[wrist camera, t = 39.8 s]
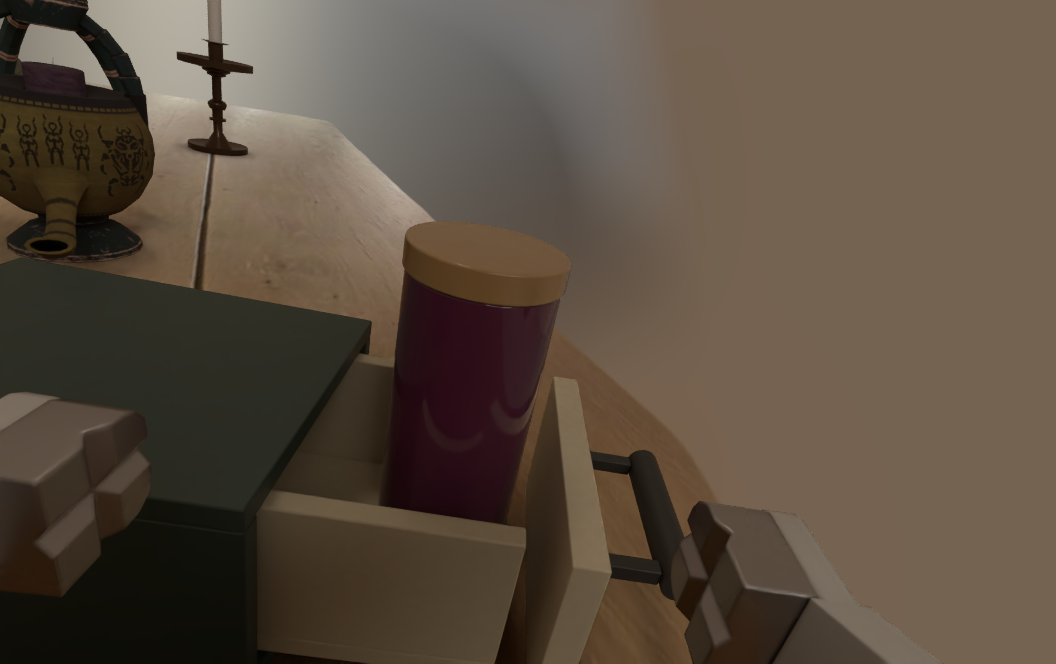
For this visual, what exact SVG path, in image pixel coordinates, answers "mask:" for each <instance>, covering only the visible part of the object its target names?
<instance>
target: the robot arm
mask: <svg viewBox="0 0 1056 664" xmlns="http://www.w3.org/2000/svg"><path fill="white" fill-rule="evenodd" d="M147 437H148V433H147V427H146V421H145V417H144V416H142V415H141V414H139V413H138V412H136V411H133V410H128V409H122V408H117V407H111V406H106V405H100V404H94V403H89V402H83V401H78V400H72V399H67V398H58V397H53V396H47V395H42V394H36V393H30V392H19V393H10V394H8V395H6V396H4V397H3V398H1V399H0V591H5V592H15V593H25V594H35V595H45V596H55V597H62V596H63V595H64V594H65V593H66V592H67V591H68V590H69V589H70V588H71V587H72V586H73V585H74V583H75V582H76V581H77V580H78V579H79V578H80V577H81V576H82V575H83V574H84V573H85V572H86V571H87V569H88V568H89V567H90V566H91V565H92V564H93V563H94V562H95V561H96V560H97V559H98V558H99V557H100V555H101V540H102V539H104V538H106V537H109V536H111V535H113V534H115V533H117V532H119V531H121V530H124V529H125V528H126V527H127V526H128V525H129V524H130V523H131V521H132V520H133V519H134V518H135V517H136V516H137V515H138V513H139V512H140V510H141V508H142V506H143V504H144V502H145V500H146V498H147V496H148V494H149V491H150V485H151V480H152V470H151V462H150V461H149V460H148V458H147V457H146V456H145V455H144V454H143V453H142V451H141V450H140V449H139V448H138V447H139V446H140V445H141V444H142V443H143V442H144V441H145V439H146V438H147ZM687 521H688V524H689V526H690V529H691V532H692V533H691V534H689V535H688V536H686V537H685V538H684V539H682V540H681V541H679V542H678V544H677V547H676V549H675V552H674V555H673V557H672V565H671V575H670V578H671V587H672V593H673V597H674V601H675V604H676V607H677V608H678V609H679V610H680V611H681V612H682V613H683V615H684V616H685V617H686V618H687V619H688V620H689V621H690V623H689V625H688V627H687V629H686V632H685V634H684V635H685V639H686V642H687V645H688V649H689V652H690V655H691V659H692V662H693V664H943V663H942V662H940V661H939V660H938V659H937V658H935V657H934V656H933V655H931V654H930V653H929V652H928V651H926V650H925V649H924V648H922V647H921V646H920V645H918V644H917V643H916V642H914V641H913V640H912V639H911V638H909V637H908V636H907V635H906V634H904V633H903V632H901V631H900V630H899V629H898V628H896V627H895V626H894V625H893V624H891V623H890V622H889V621H887V620H886V619H885V618H883V617H882V616H881V615H880V614H878V613H877V612H876V611H874V610H873V609H872V608H871V607H869V606H863V605H858V603H857V602H856V600H855V599H854V597H853V596H852V594H851V593H850V591H849V589H848V588H847V586H846V585H845V583H844V582H843V580H842V579H841V577H840V576H839V574H838V573H837V571H836V570H835V568H834V567H833V565H832V563H831V562H830V560H829V559H828V557H827V556H826V554H825V553H824V551H823V550H822V548H821V547H820V545H819V544H818V542H817V541H816V539H815V538H814V536H813V534H812V533H811V531H810V530H809V528H808V527H807V525H806V524H805V522H804V521H803V520H802V519H801V518H800V517H798V516H797V515H795V514H792V513H785V512H777V511H770V510H756V509H749V508H743V507H736V506H730V505H723V504H717V503H710V502H704V501H699V502H698V503H697V504H696V505H695V506H694V507H693V508H692V511H691V513H690V515H689V518H688V520H687Z"/></svg>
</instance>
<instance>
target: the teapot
mask: <svg viewBox="0 0 1056 664" xmlns="http://www.w3.org/2000/svg"><path fill="white" fill-rule="evenodd" d="M87 4H88V2H87V0H0V18H3V17H5V18H4V21H3V24H2V26H1V29H0V196H2V197H3V198H5V199H6V200H8V201H10V202H11V203H13V204H14V205H16V206H18V207H19V208H21V209H23V210H26V211H29V212H32V213H35V214H38V216H39V217H38V218H35V219H32V220H29V221H28V222H27V223H25V224H24V225H22V226H21V227H20V228H18V229H17V230H16V231H14V232H13V233H12V234H10V235H9V236H8V237H7V238H6V240H7V246H8V249H9V250H11V251H12V252H14V253H16V254H18V255H22V256H25V257H29V258H32V259H39V260H47V261H57V262H95V261H104V260H111V259H118V258H121V257H125V256H129V255H132V254H134V253H136V252H138V251H140V249H141V247H142V246H143V245H142V240H141V238H140V237H139V236H138V235H137V234H135V233H134V232H132V231H131V230H129V229H128V228H126V227H125V226H123V225H122V224H121V223H119V222H117V221H115V220H112V219H109V216H110V215H113V214H116V213H118V212H121V211H123V210H124V209H126V208H127V207H128V206H130V205H131V204H132V203H133V202H135V201H136V200H137V199H138V198H140V196H141V195H142V193H143V192H144V190H145V188H146V186H147V184H148V183H149V181H150V179H151V177H152V175H153V166H154V157H155V152H154V145H153V138H152V136H151V133H150V131H149V128H148V116H147V104H146V95H145V94H144V93H143V90H142V85H141V81H140V77H138V76H137V75H136V72H135V70H134V68H133V65H132V63H131V60H130V58H129V56H128V54H127V53H125V52H124V51H123V50H122V49H121V47H120V46H119V45H118V44H117V42H116V41H115V40H114V38H113V37H112V36H111V35H110V33H109V32H108V31H107V30H106V29H103V28H102V27H100V26H99V25H98V24H97V23H95V22H94V21H93V20H92V19H91V18H90V17H89V16H87V15H86V13H87V11H88V5H87ZM30 24H35V25H39V26H45V27H50V28H56V29H61V30H68V31H75V32H76V33H77V34H78V35H79V37H80V38H81V39H82V40H83V41H84V42H85V43H86V44H87V45H88V47H89V48H90V50H91V51H92V53H93V54H94V55H95V57H96V58H97V60H98V62H99V63H100V65H101V67H102V69H103V71H104V73H105V75H106V76H107V78H108V80H109V82H110V84H111V86H112V88H113V90H110V89H106V88H102V87H96V86H91V85H86V84H85V76H84V72H83V71H81V70H78V69H75V68H70V67H65V66H59V65H53V64H47V63H39V62H21V66H22V72H23V76H22V75H14V74H15V69H16V64H17V59H18V55H19V51H20V46H21V44H22V41H23V38H24V36H25V33H26V30H27V28H28V26H29V25H30Z"/></svg>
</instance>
